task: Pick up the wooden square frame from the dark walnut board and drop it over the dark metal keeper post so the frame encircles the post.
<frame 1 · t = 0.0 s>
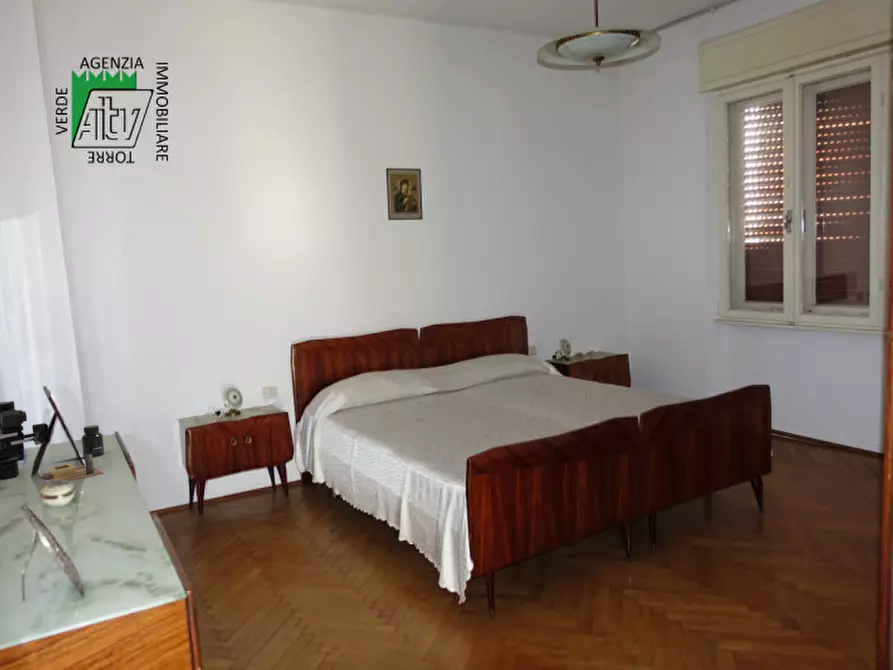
hand: (20, 442, 208), 17 cm above the dresser, tool horizontal, fingers open, 9 cm apart
keeper board: (73, 478, 227), on the dresser
wooden square frame: (62, 474, 227), point 1 cm above the dresser, touching keeper board
supplement bottle: (94, 459, 250), on the dresser
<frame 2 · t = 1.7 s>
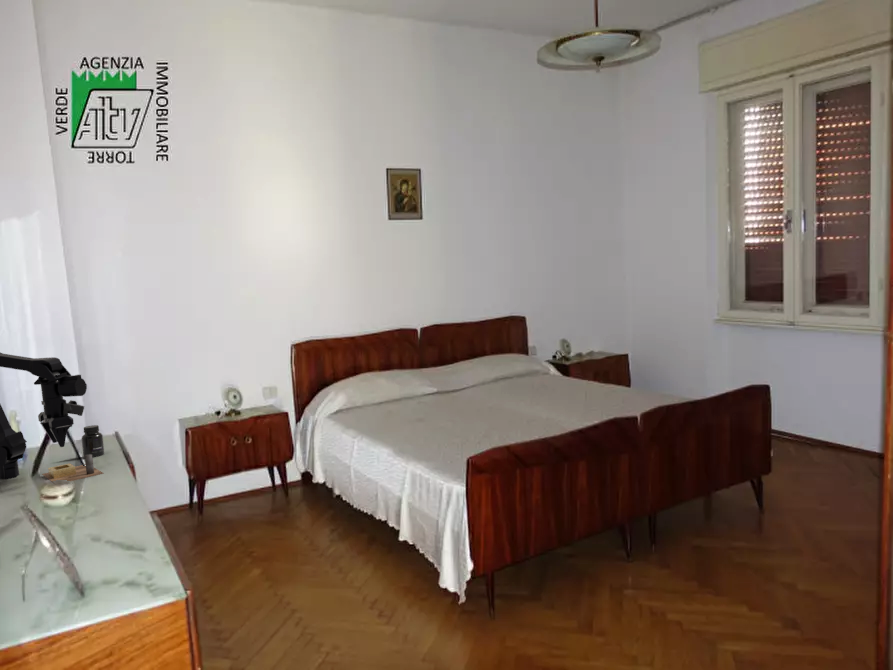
hand: (58, 444, 226), 11 cm above the dresser, tool pointing down, fingers open, 9 cm apart
nothing on the dresser moved.
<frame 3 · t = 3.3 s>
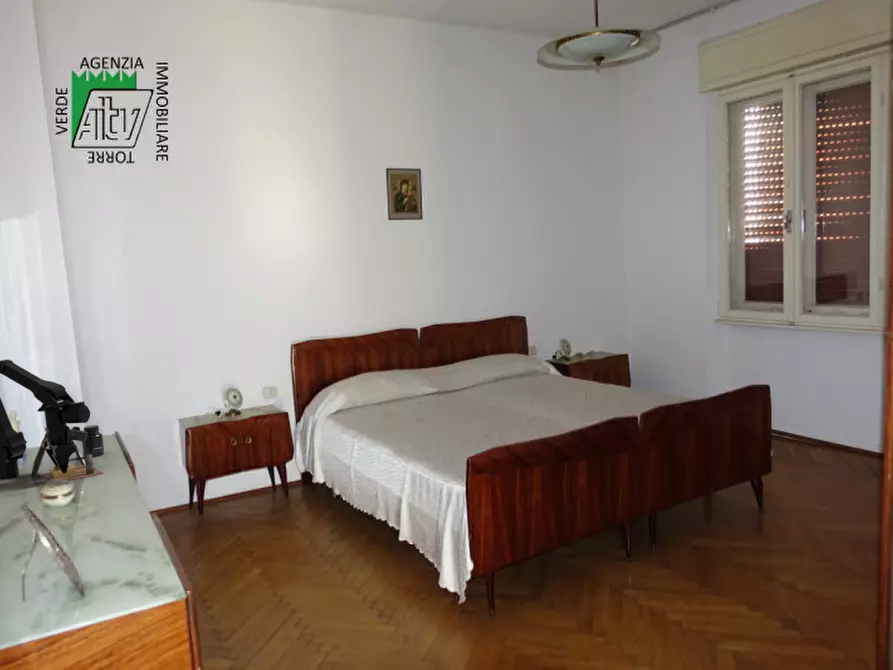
hand: (62, 471, 227), 3 cm above the dresser, tool pointing down, fingers closed on wooden square frame, 6 cm apart
wooden square frame: (62, 474, 227), point 1 cm above the dresser, touching gripper, keeper board
everything else where it was.
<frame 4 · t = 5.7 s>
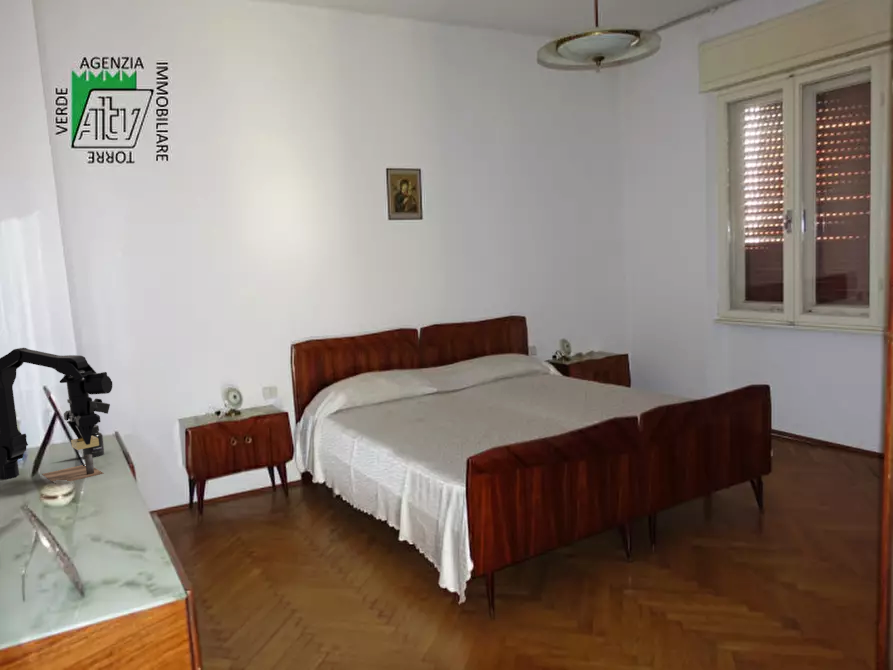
hand: (85, 443, 225), 12 cm above the dresser, tool pointing down, fingers closed on wooden square frame, 6 cm apart
wooden square frame: (85, 446, 225), point 11 cm above the dresser, touching gripper
everything else where it was.
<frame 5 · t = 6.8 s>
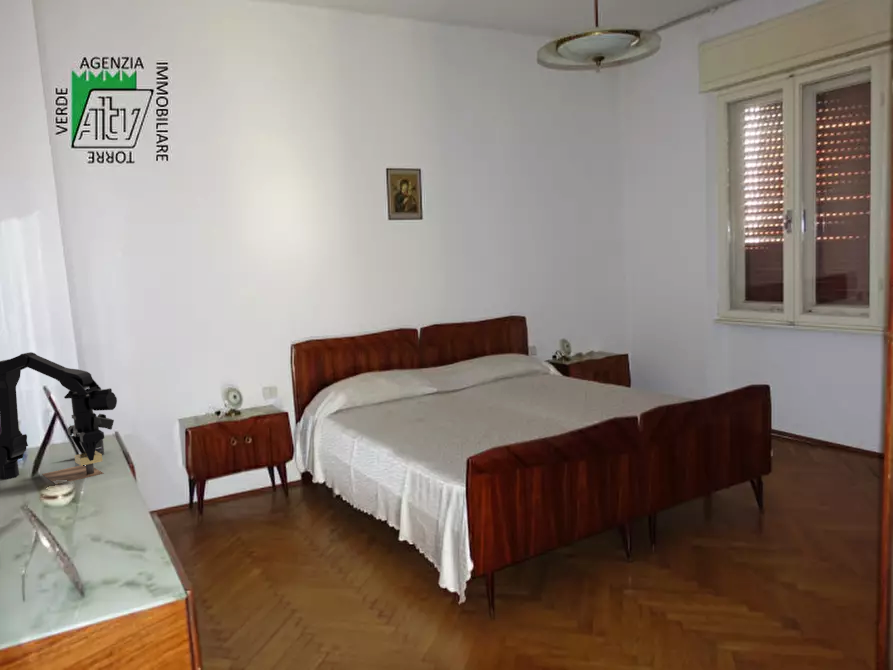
hand: (88, 458, 225), 6 cm above the dresser, tool pointing down, fingers closed on wooden square frame, 6 cm apart
wooden square frame: (88, 461, 225), point 5 cm above the dresser, touching gripper
everything else where it was.
when the fingers open (5 cm above the dresser, at t = 8.0 s): wooden square frame drops 3 cm, resting on keeper board.
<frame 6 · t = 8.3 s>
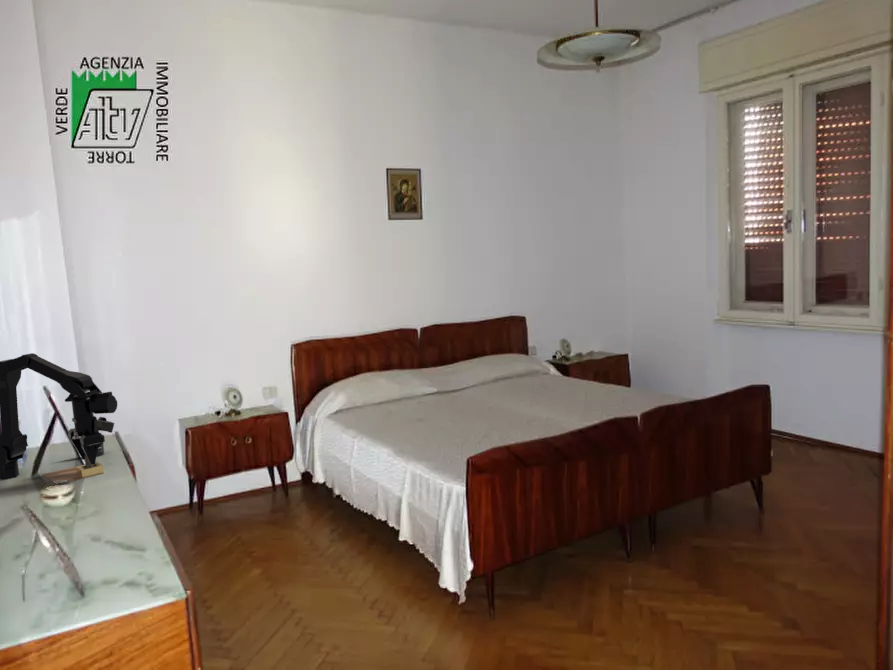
hand: (88, 461, 225), 5 cm above the dresser, tool pointing down, fingers open, 9 cm apart
wooden square frame: (90, 473, 226), point 1 cm above the dresser, touching keeper board
everything else where it was.
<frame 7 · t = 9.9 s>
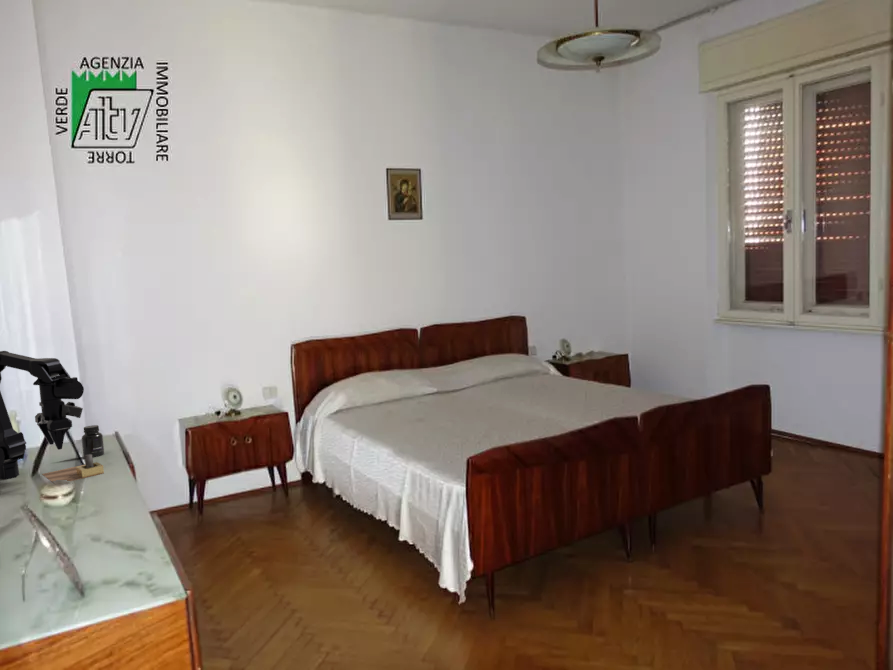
hand: (55, 446, 223), 11 cm above the dresser, tool pointing down, fingers open, 9 cm apart
nothing on the dresser moved.
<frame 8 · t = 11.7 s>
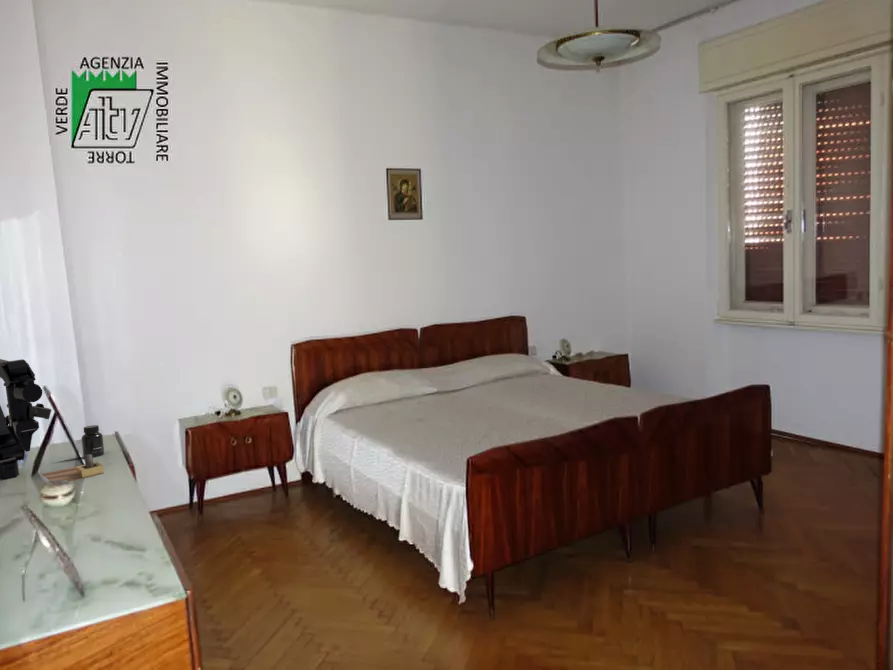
hand: (24, 449, 220), 12 cm above the dresser, tool pointing down, fingers open, 9 cm apart
nothing on the dresser moved.
at the end: wooden square frame 0.0 cm from the target spot on the keeper board, point 1.5 cm above the keeper board's base; wooden square frame tilted 0°; the gripper is holding nothing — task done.
